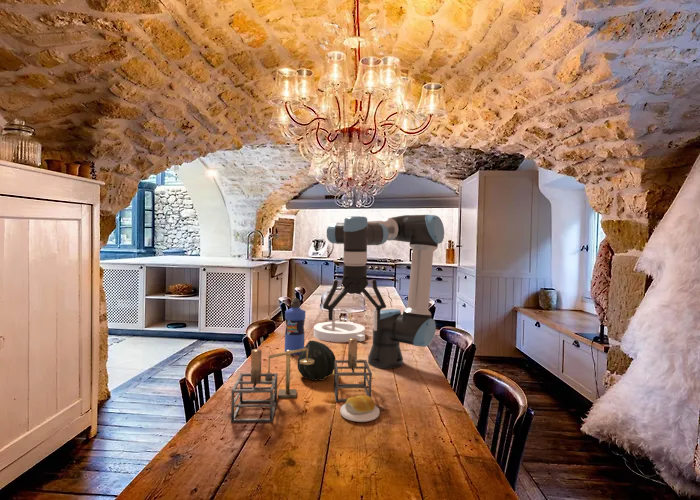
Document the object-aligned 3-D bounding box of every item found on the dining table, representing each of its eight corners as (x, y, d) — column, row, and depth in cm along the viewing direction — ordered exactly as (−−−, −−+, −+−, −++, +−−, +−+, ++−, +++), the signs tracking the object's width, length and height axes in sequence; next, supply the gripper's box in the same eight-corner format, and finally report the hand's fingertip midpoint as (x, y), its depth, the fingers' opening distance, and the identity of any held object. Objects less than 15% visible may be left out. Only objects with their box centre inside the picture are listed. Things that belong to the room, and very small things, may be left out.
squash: (348, 361, 152) (326, 330, 156) (330, 375, 139) (306, 340, 142) (324, 380, 158) (303, 349, 161) (304, 394, 144) (282, 360, 147)
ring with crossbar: (365, 343, 200) (365, 334, 199) (310, 342, 200) (311, 332, 200) (364, 330, 228) (364, 322, 227) (316, 328, 228) (316, 320, 228)
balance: (313, 391, 136) (314, 345, 135) (313, 397, 131) (314, 349, 130) (261, 392, 134) (262, 345, 133) (259, 398, 129) (260, 349, 128)
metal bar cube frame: (365, 385, 143) (367, 334, 142) (371, 401, 129) (372, 344, 128) (333, 385, 142) (334, 334, 141) (335, 401, 128) (337, 344, 127)
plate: (375, 405, 126) (376, 401, 126) (382, 423, 114) (382, 418, 114) (338, 406, 125) (339, 401, 125) (341, 424, 113) (341, 419, 113)
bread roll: (379, 410, 119) (380, 397, 119) (355, 417, 114) (356, 404, 114) (363, 400, 126) (364, 388, 126) (340, 407, 121) (340, 394, 121)
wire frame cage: (277, 401, 127) (278, 344, 126) (272, 422, 113) (273, 357, 112) (240, 402, 126) (241, 343, 125) (230, 422, 112) (231, 357, 111)
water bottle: (298, 356, 175) (300, 300, 174) (280, 353, 178) (281, 299, 177) (307, 350, 184) (309, 297, 183) (290, 348, 187) (291, 296, 186)
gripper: (390, 263, 130) (389, 326, 131) (315, 263, 127) (315, 327, 128) (395, 265, 122) (394, 332, 123) (316, 265, 119) (315, 333, 121)
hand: (354, 330), depth 126 cm, fingers open, 13 cm apart
